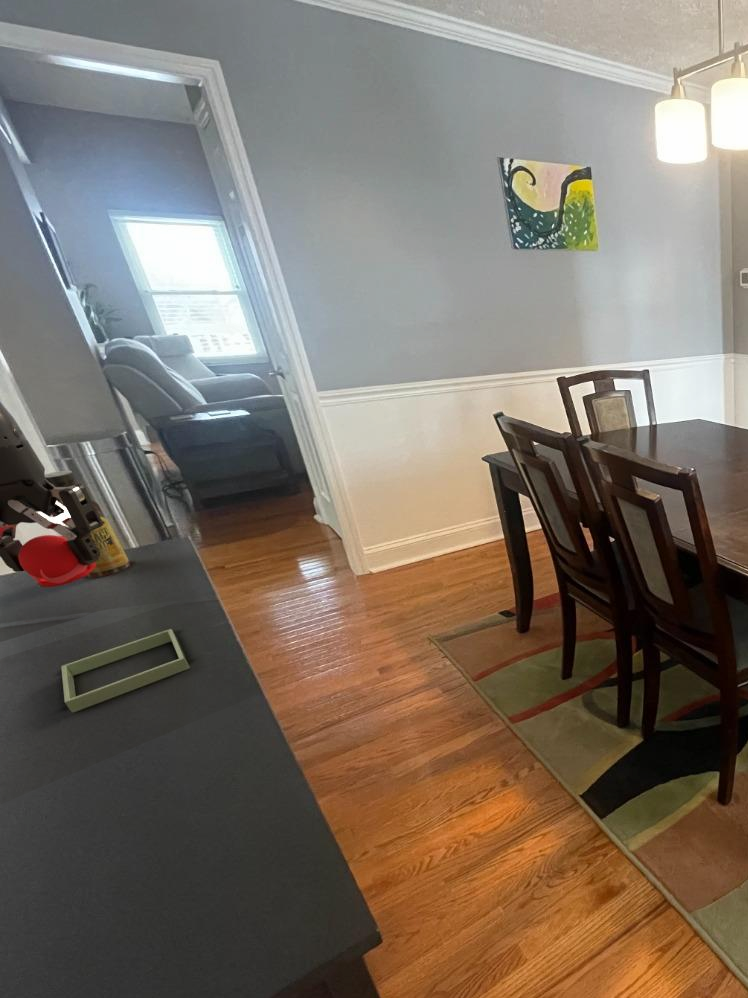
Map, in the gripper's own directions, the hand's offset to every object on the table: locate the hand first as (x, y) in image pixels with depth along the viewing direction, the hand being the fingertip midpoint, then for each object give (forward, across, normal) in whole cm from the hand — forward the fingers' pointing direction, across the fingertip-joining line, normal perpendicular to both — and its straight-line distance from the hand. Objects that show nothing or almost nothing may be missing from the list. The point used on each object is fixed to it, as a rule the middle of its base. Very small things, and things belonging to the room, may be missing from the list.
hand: (58, 565), depth 78 cm
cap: (+2, 0, 0) cm, 2 cm away
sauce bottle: (+17, -24, +36) cm, 47 cm away
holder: (+17, +2, -2) cm, 17 cm away
